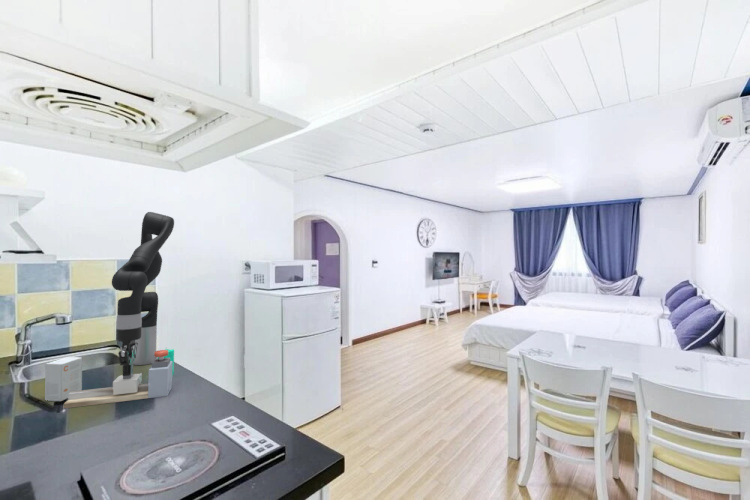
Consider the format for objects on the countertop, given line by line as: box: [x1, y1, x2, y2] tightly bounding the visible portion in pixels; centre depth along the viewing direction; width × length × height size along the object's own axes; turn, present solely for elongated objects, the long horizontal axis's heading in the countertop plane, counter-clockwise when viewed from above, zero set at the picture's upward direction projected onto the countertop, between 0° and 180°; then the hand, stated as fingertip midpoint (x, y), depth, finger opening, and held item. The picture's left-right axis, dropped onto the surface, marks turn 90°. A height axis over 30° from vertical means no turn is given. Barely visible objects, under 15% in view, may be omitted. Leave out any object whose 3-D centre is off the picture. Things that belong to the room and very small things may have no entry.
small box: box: [44, 356, 83, 402], centre depth 123 cm, size 8×6×13 cm
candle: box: [157, 348, 175, 377], centre depth 145 cm, size 6×6×12 cm
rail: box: [62, 382, 149, 409], centre depth 122 cm, size 9×24×4 cm, turn 112°
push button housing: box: [147, 358, 173, 399], centre depth 128 cm, size 9×6×12 cm, turn 22°
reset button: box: [154, 349, 168, 361], centre depth 128 cm, size 4×4×3 cm
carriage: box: [112, 355, 143, 395], centre depth 124 cm, size 7×7×13 cm
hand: (128, 373), depth 124 cm, fingers closed on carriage, 2 cm apart
